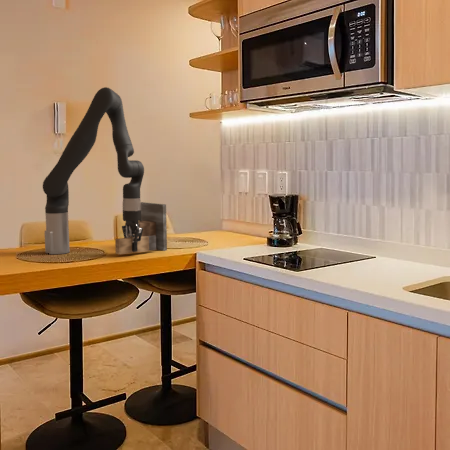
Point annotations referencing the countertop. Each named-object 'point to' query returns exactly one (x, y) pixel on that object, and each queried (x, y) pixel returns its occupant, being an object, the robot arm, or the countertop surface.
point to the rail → (144, 245)
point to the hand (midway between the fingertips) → (132, 250)
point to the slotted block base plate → (154, 223)
